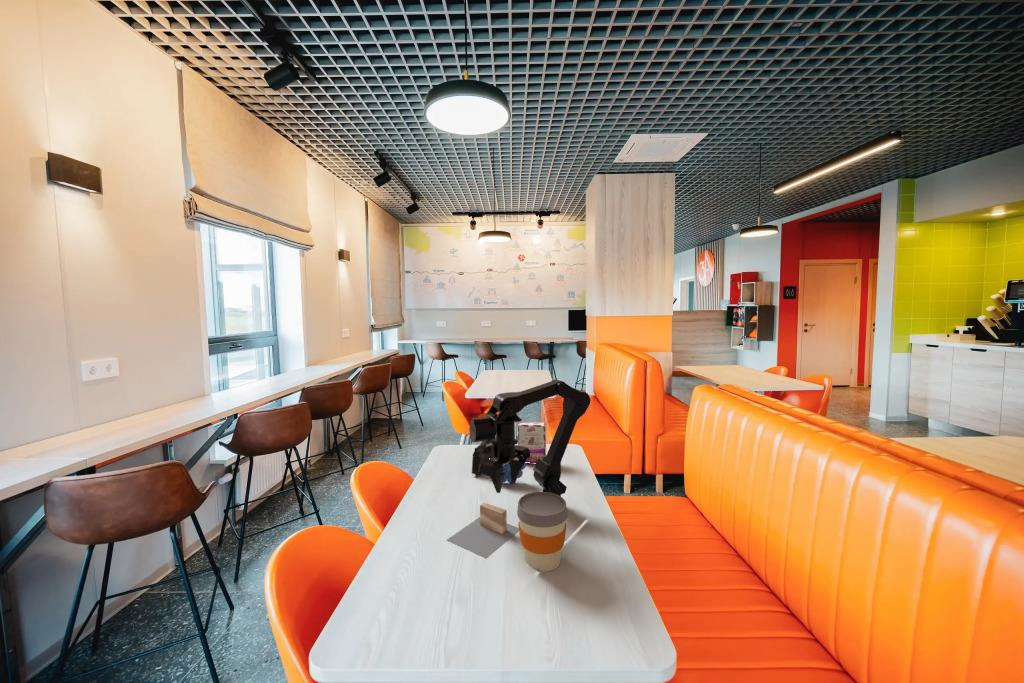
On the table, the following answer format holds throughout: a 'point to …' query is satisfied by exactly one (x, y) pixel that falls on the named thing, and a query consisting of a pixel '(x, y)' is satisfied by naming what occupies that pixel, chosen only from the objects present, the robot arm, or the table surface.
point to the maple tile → (493, 517)
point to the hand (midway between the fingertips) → (506, 487)
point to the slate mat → (481, 538)
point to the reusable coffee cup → (542, 529)
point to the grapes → (508, 475)
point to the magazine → (479, 458)
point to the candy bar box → (533, 439)
